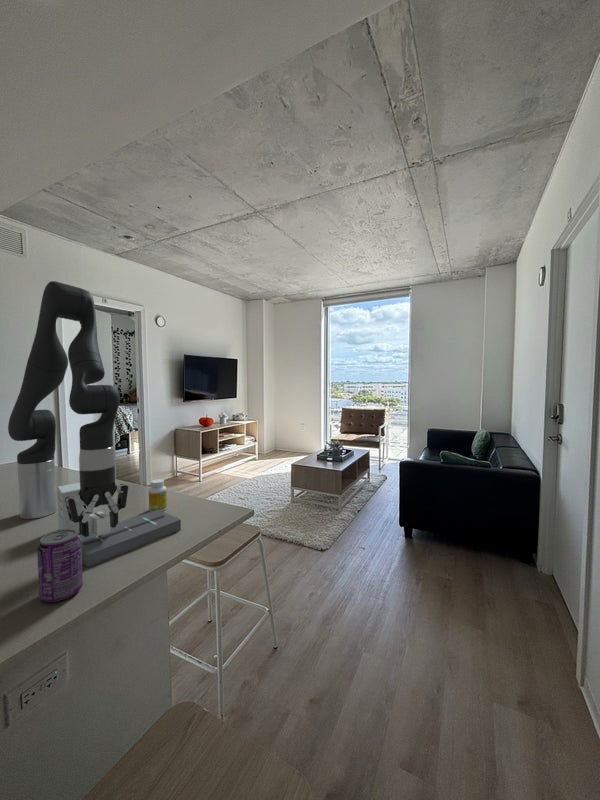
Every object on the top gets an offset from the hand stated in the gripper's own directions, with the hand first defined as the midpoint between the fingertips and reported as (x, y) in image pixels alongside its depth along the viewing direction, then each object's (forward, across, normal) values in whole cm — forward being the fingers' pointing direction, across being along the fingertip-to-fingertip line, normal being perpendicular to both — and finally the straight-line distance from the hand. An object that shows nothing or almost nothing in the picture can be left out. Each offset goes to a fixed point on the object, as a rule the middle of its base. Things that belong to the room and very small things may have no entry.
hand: (99, 530), depth 83 cm
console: (+5, -7, 0) cm, 9 cm away
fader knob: (+2, 0, 0) cm, 2 cm away
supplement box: (+5, -1, -18) cm, 19 cm away
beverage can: (+5, +12, +12) cm, 18 cm away
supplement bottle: (+5, -23, -13) cm, 27 cm away
